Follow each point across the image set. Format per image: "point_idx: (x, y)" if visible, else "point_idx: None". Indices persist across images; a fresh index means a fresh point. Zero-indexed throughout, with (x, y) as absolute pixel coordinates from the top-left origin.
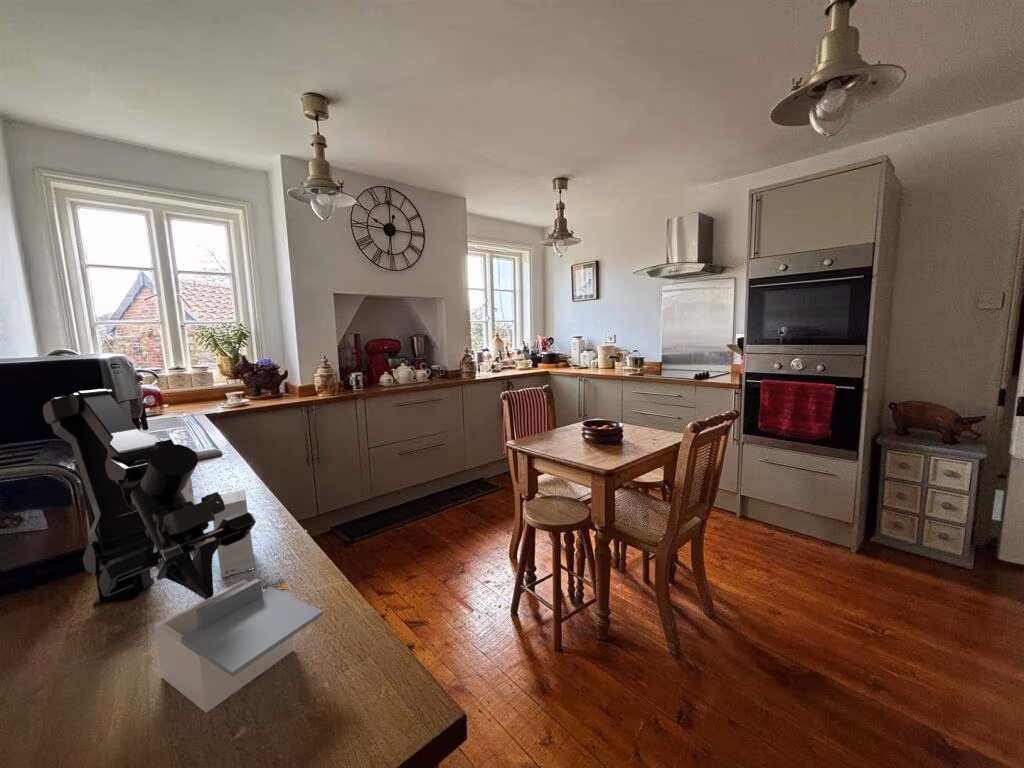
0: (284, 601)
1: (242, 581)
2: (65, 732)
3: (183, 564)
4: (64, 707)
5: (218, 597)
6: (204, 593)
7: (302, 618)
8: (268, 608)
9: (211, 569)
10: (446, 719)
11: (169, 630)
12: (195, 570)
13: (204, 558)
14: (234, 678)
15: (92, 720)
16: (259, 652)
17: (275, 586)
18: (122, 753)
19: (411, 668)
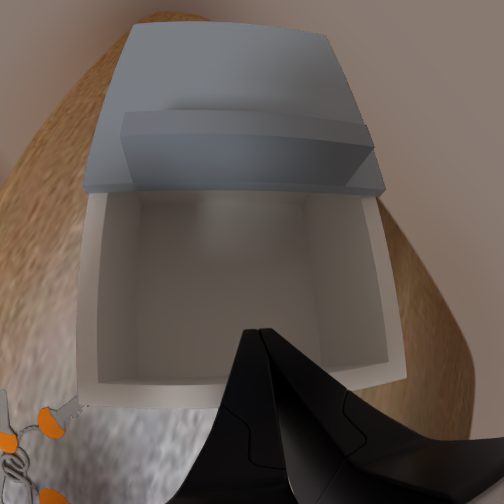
0: (131, 90)
1: (89, 396)
2: (441, 359)
3: (429, 452)
4: (433, 426)
5: (200, 384)
6: (282, 338)
7: (168, 30)
8: (174, 96)
9: (223, 407)
10: (157, 12)
11: (387, 300)
12: (331, 427)
13: (257, 488)
14: None
15: (419, 355)
16: (276, 29)
17: (21, 464)
18: (400, 238)
19: (108, 52)
